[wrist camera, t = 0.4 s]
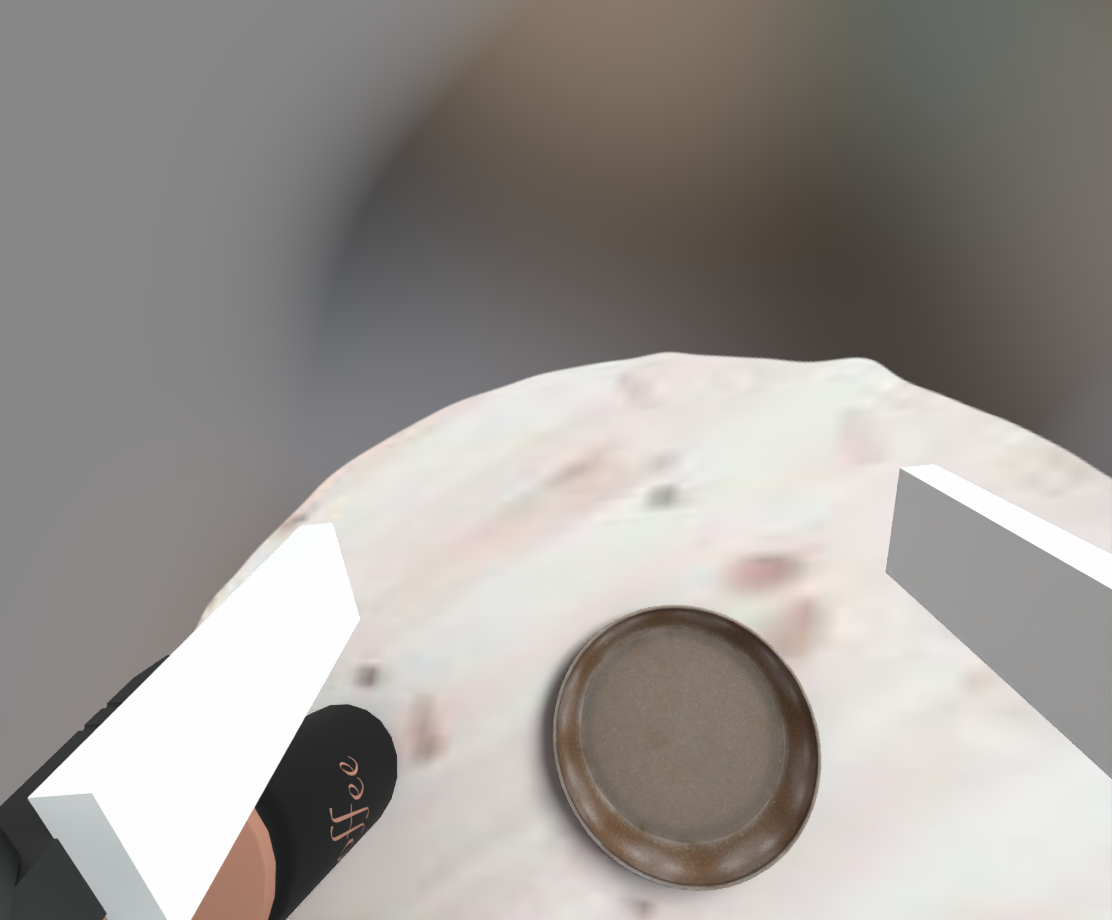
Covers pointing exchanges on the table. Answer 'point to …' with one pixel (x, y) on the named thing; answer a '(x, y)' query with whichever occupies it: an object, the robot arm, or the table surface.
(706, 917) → the table surface
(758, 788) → the plant saucer
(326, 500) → the table surface
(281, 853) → the coffee jar
